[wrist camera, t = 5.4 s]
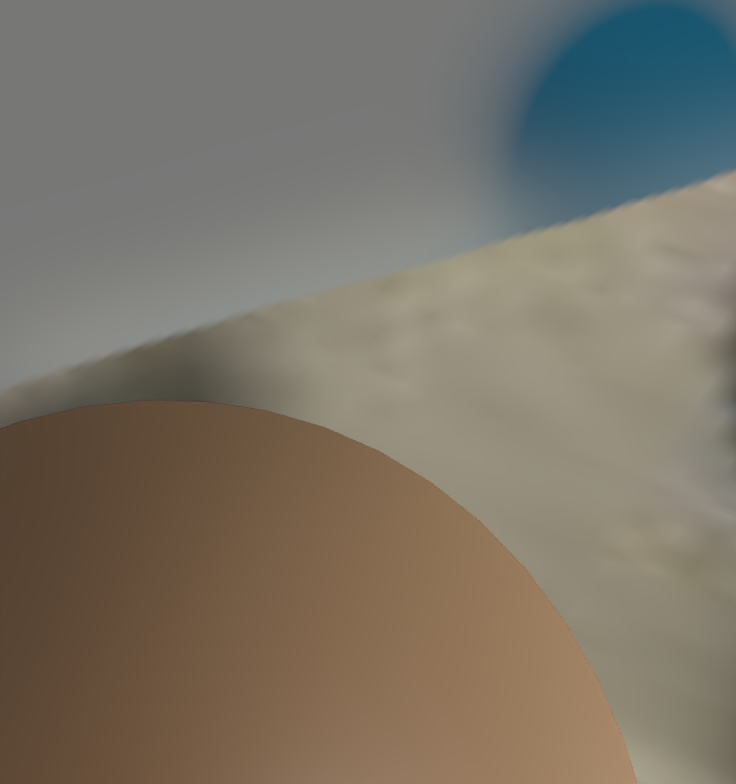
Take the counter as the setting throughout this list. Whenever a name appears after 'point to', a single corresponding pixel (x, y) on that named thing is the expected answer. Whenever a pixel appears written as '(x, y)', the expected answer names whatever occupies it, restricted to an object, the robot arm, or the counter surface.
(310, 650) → the tan round-ended cylinder
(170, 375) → the counter surface
